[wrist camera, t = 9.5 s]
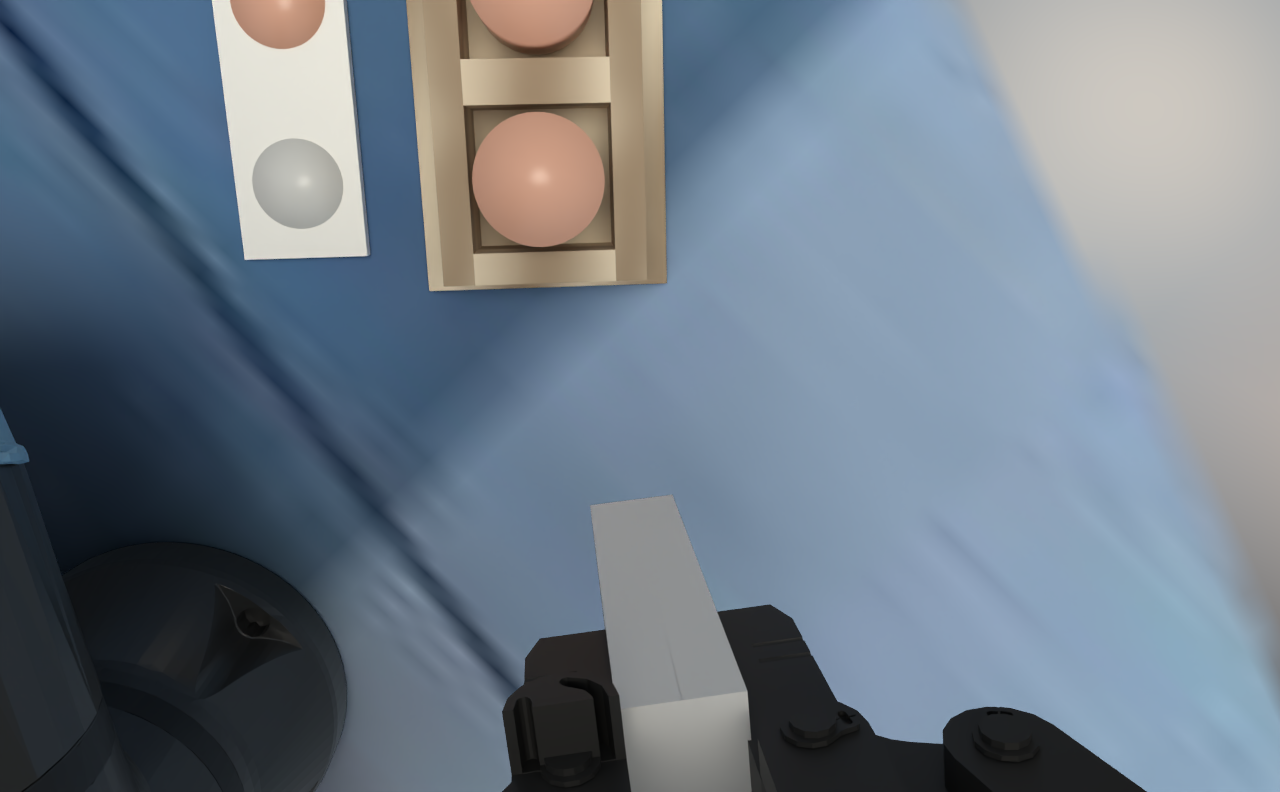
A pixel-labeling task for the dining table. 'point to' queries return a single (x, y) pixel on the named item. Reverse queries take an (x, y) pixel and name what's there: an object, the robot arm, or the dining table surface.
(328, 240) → the pattern card
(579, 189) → the button
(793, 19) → the dining table surface
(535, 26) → the button middle
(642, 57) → the button panel
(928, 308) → the dining table surface
